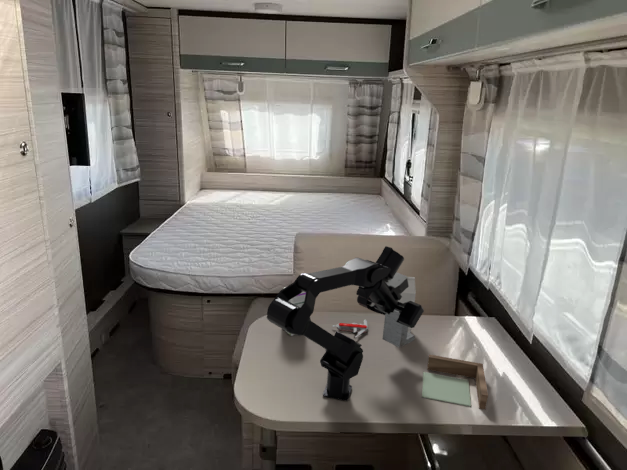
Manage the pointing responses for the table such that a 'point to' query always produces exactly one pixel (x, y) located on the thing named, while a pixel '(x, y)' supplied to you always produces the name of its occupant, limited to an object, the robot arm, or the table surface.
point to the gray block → (396, 331)
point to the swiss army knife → (353, 327)
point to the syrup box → (297, 302)
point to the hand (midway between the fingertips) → (399, 319)
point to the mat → (446, 389)
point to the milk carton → (409, 294)
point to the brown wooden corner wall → (462, 373)
